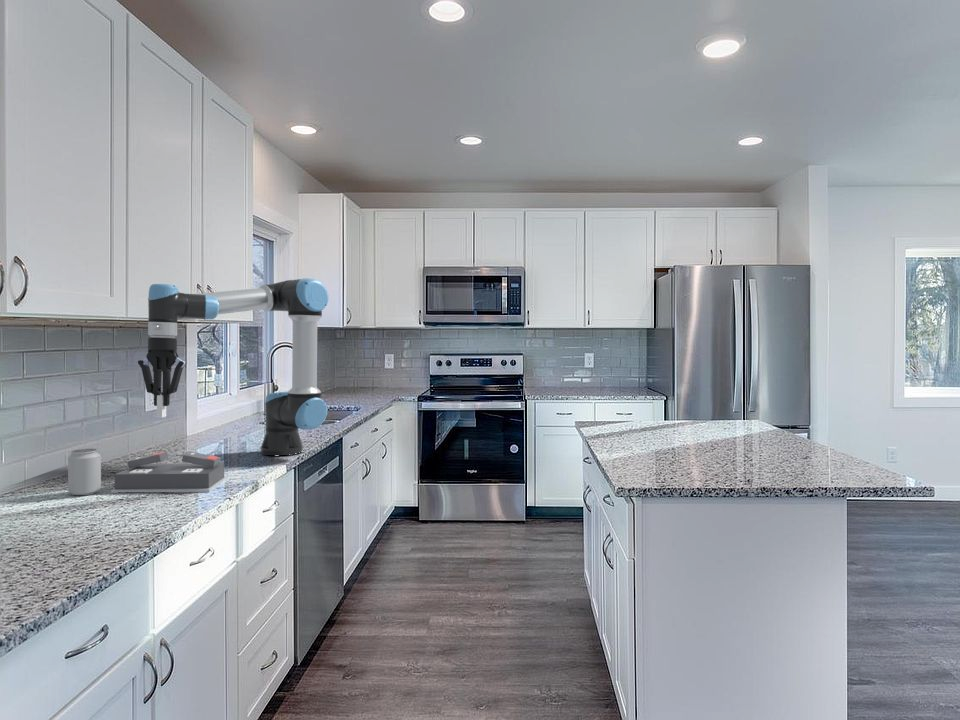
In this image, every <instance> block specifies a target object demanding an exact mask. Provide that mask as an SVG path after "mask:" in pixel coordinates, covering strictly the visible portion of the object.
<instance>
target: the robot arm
mask: <svg viewBox="0 0 960 720" xmlns="http://www.w3.org/2000/svg"><path fill="white" fill-rule="evenodd" d="M147 300H148V303H147V304H148V320H147V321H148V322H147V324H148V325H147V328H148V329H147V335H148V336H150V337H148V338H147V354H146V355H145V356H146V357H145V358H143V359H140V360H138V361H137V363H138V365H139V367H140V368H141V369H140V370H141V373H142V377H143V382H144V385H145V386H144V387H145V389H146V392H147V393H148V394H152V395H153V405H154V406H153V407H156V418H158V419H160V418H165V417H167V407H168V406H170V404H171V403H170V399H171V397H170V396H171V394H174V393H177V391H178V388H179V387H178V386H179V385H180V381H181V376H182V373H183V369H184V368H185V366H186V365H187V361H186V360H183V359H180V358H179V355H178V352H177V351H178V339H177V338H176V337H177V336H178V320H204V321H206V320H215V319H216V318H217V316H218V315H226V314H234V313H241V312H242V313H243V312H249V311H250V312H251V311H259V310H263V311H264V312H273V311H274V312H287V313H288V314H287V317H289V318H290V319H291V321H292V344H291V345H292V350H291V351H292V353H291V354H292V356H291V357H292V361H291V362H292V365H291V375H292V376H291V379H292V380H291V388H290V389H289V390H288V391H281V392H280V391H279V392H278V391H277V392H271V393H267V394H266V396H265V403H264V405H265V434H264V436H263V440H262V442H261V446H260V454H261V455H262V454H263V455H262V456H266V455H289V454H295V453H299V452H301V451H302V450H303V451H304V446H303V445H304V444H303V442H302V438H301V436H300V433H299V429H300V430H302V431H303V430H304V431H305V430H307V431H311V430H315V429H317V428H320V427H321V425H322V424H323V423H324V422H325V420H326V418H327V416H328V406H327V403H326V402H325V401H324V400H323V399H322V391H321V390H320V389H319V388H318V321H319V320H320V319H321V318H322V315H323V310H324V309H325V308H326V306H327V305H328V303H329V294H328V290H327V288H326V287H325V285H324V284H323V283H322V282H321V281H320V280H318V279H315V278H299V279H298V278H297V279H289V280H282V281H279V282H275V283H270V284H262V285H260V286H259V287H258V288H257V287H256V288H248V289H236V290H225V291H214V292H212V291H211V292H204V293H203V292H201V293H184V292H179V287H178V286H177V285H176V284H167V283H153V284H151V285H150V286H149V289H148V298H147ZM149 365H151V366H152V372H151V367H150V366H149ZM174 365H175V368H174V371H173V374H172V378H171V373H172V367H173V366H174ZM152 373H153V376H152ZM289 456H290V455H289Z"/></svg>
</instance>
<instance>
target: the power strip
mask: <svg viewBox="0 0 960 720" xmlns="http://www.w3.org/2000/svg"><path fill="white" fill-rule="evenodd" d="M226 479H227V480H228V475H227V476H225V463H219V464H218V465H217V466H215V467H214V468H212V467H207V466H202V465H197V464H192V463H152V464H147V465H142V466H137V467H133V468H129V467H128V468H126V469H124V470H122V471H119V472H117V473H115V474H114V488H113V489H111V490H110V493H111V494H119V493H118V492H174V493H211V492H212V491H213V490H215V487H216V488H217V487H219V486H220V485H221V484H222V483H224V482H225V481H227V480H226ZM224 480H225V481H224ZM223 481H224V482H223ZM219 484H220V485H219ZM211 490H212V491H211Z"/></svg>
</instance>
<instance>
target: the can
mask: <svg viewBox="0 0 960 720" xmlns="http://www.w3.org/2000/svg"><path fill="white" fill-rule="evenodd" d="M98 451H99V449H97V448H80V449H79V448H78V449H73V450H71V451H70V455H69V456H67V481H68V486H67V489H68V491H67V492H68V494H71V495H72V496H73V495H86V496H90V495H89V494H92V495H95V494H97V493H98V492H99V491H100V490H102V457H101V456H102V455H101V453H100V452H98ZM96 492H97V493H96ZM94 493H95V494H94Z"/></svg>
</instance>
